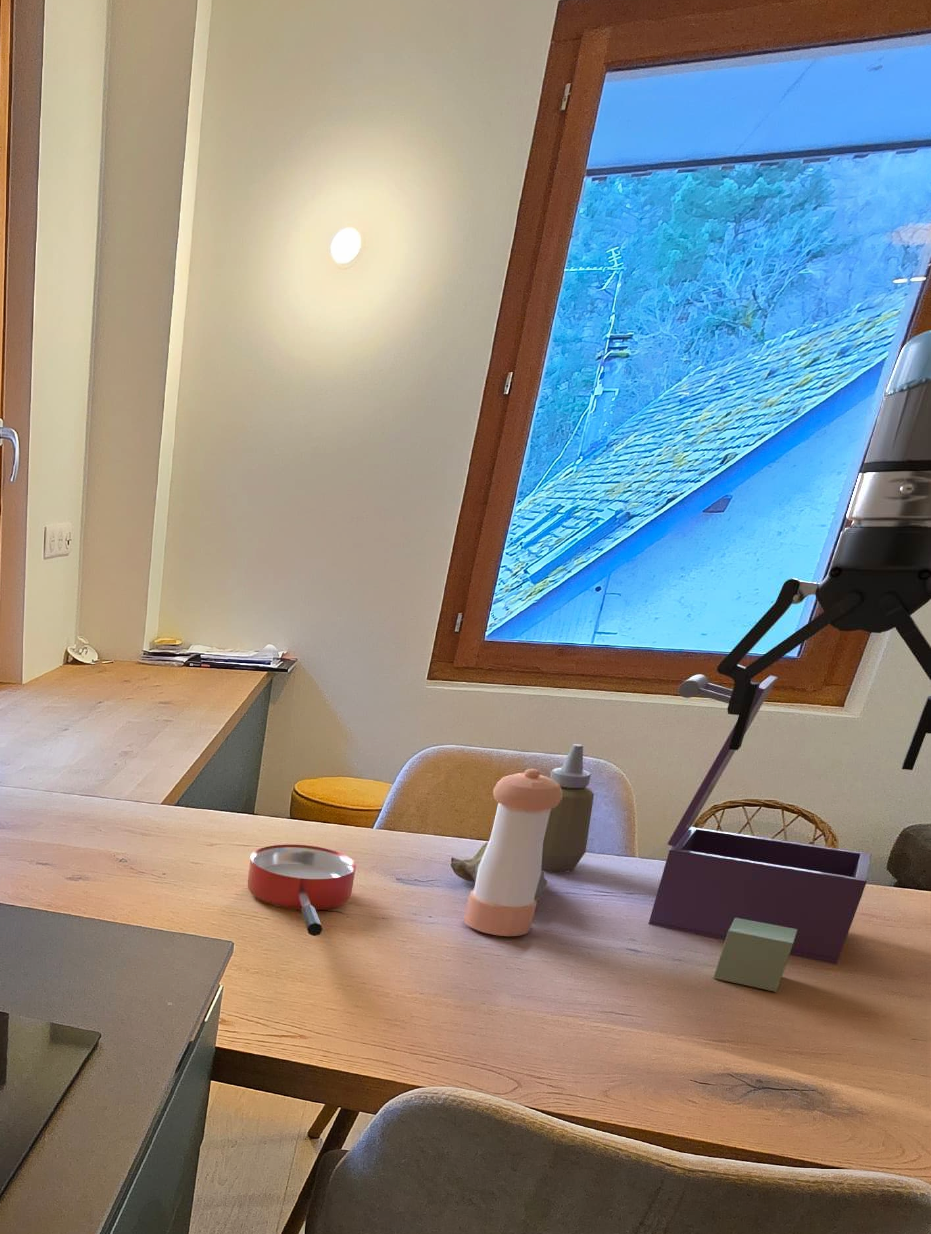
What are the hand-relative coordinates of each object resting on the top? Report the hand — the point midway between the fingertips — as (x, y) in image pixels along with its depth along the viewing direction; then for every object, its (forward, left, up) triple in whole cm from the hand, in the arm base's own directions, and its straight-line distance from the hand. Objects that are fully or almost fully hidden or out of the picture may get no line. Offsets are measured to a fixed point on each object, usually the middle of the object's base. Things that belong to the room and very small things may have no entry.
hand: (817, 757), depth 104 cm
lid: (+8, -17, -4) cm, 19 cm away
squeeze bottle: (+26, -27, -24) cm, 44 cm away
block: (0, 0, -24) cm, 24 cm away
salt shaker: (+25, +1, -24) cm, 34 cm away
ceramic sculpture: (+28, -11, -24) cm, 38 cm away
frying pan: (+43, +14, -24) cm, 51 cm away
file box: (+2, -17, -24) cm, 29 cm away
